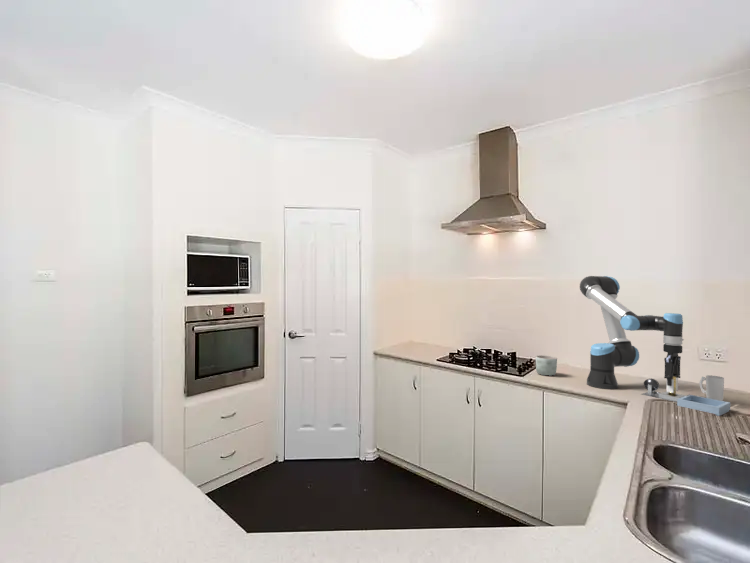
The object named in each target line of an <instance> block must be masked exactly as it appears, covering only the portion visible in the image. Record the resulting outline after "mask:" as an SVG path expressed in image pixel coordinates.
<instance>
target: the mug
mask: <svg viewBox="0 0 750 563" xmlns="http://www.w3.org/2000/svg"><path fill="white" fill-rule="evenodd" d="M704 381H705V389H704V387H703V382H704ZM699 388H700V391H701V393H703V394H705V396H706V397H705V398H710V399H715V400H720V401H724V391H725V390H724V389H725V377H722V376H720V375H708V374H707V375H705V376H701V378H700V380H699Z"/></svg>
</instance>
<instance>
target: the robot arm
mask: <svg viewBox="0 0 750 563" xmlns="http://www.w3.org/2000/svg"><path fill="white" fill-rule="evenodd" d="M620 288H621V286H620V283H619V281H618V280H617V279H616V278H615V277H612V276H608V275H606V276H605V275H604V276H601V275H598V276H597V275H589V276H586V277H584V278H582V279H581V281H580V283H579V290H580V292H581V294H582V295H583V296H584V297H585V298H587V299H588V300H592V301H594V302H595V303H596V304H597V305H599V306H600V310H601V313H602V317H603V320H604V324H605V329H606V332H607V335H608V339H609V342H608V343H606V342H598V343H594V344H592V345H591V346H590V352H589V355H590V357H589V358H590V367H589V368H590V370H589V374H588V376H587V379H586V385H588V386H589V387H594V388H599V389H604V390H614V389H618V388H619V384H618V381H617V377H616V374H615V368H616V367H620V368H621V367H625V368H628V367H633V366H634V365H635V366H636V364H638V361H639V359H640V352H639V349H638V348H637V347H636V346H634V345H632V342H631V340H630V339H628V338H627V336H626V331H658V332H659V331H660V332H663V335H662V336H663V345H662V346H663V348H662V350H663V352H664V353H666V354H667V355H666V357H664V360H663V361H664V376H663V378H664V379H666V387H665V388H666V391H665V392H671V393H674V379H673V376H675V377H676V392H679V379H681V360H682V359H681V356H679V354H683V346H682V345H683V341H684V340H685V339H684V338H683V328H684V327H683V326H684V325H683V324H684V321H683V319H684V318H683V315H682V314H681V313H672V312H665V313H664V314H663V316H660V315H653V314H651V315H650V314H647V315H638V314H636V313H635V312H633V311H631V310H630V309H629V308H627V307H626V306H625V305H623V304H622V303H621V302H619V301H618V300H617V298H618V294H619V292H620ZM625 330H626V331H625Z"/></svg>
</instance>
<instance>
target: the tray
mask: <svg viewBox="0 0 750 563" xmlns="http://www.w3.org/2000/svg"><path fill="white" fill-rule="evenodd" d="M676 406H677V407H682V408H687V409H691V410H695V411H701V412H705V413H710V414H714V416H717V417H720V416H723V415H724V414H726V413H728V412H730V411H731V402H730V401H724V400H723V401H720V400H715V399H710V398H706V397H703V396H700V395H699V396H698V395H694V394H686V396H684V397H681V398H679V399H677V402H676ZM729 410H730V411H729Z"/></svg>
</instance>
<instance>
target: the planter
mask: <svg viewBox="0 0 750 563" xmlns="http://www.w3.org/2000/svg"><path fill="white" fill-rule="evenodd" d="M557 366H558V358H557V357H556V356H551V355H536V356H535V370H536V373H537V374H539V375H540V374H541V376H545V375H549V377H550V376H551V377H553V376H555V375H556V373H557V368H558V367H557ZM552 375H553V376H552Z"/></svg>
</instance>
